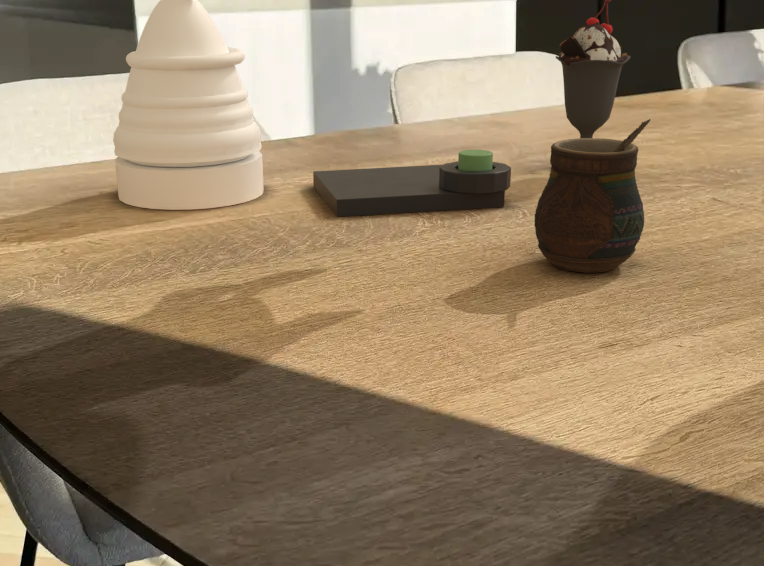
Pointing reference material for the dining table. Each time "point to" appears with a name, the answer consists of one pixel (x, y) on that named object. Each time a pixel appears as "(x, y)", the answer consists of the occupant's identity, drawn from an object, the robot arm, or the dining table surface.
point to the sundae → (591, 74)
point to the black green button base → (412, 189)
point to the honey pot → (186, 117)
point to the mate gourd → (590, 204)
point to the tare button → (475, 160)
